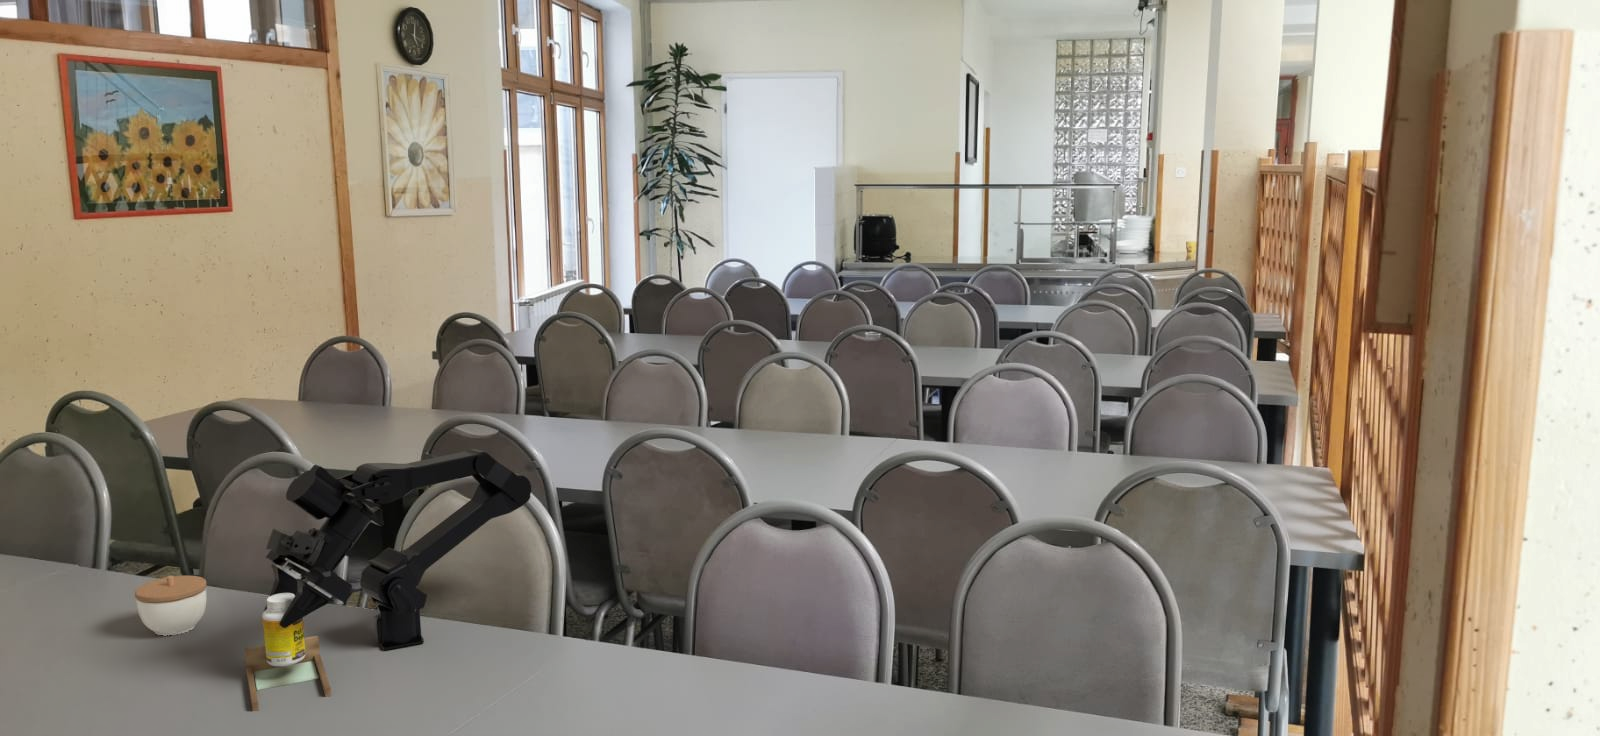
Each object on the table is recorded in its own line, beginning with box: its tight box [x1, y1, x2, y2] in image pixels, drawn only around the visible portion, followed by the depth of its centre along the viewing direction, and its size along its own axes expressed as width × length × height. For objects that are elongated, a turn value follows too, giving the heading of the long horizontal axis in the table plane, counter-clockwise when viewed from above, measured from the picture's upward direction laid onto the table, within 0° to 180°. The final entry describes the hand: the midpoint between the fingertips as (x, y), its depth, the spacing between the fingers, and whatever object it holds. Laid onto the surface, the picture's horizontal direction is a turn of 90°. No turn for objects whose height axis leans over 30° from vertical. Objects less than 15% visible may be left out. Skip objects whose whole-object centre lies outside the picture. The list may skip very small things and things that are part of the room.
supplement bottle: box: [261, 593, 306, 666], centre depth 178 cm, size 6×6×10 cm
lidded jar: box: [134, 575, 208, 637], centre depth 198 cm, size 11×11×9 cm
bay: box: [244, 635, 332, 712], centre depth 177 cm, size 11×15×4 cm
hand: (273, 621), depth 177 cm, fingers closed on supplement bottle, 5 cm apart
